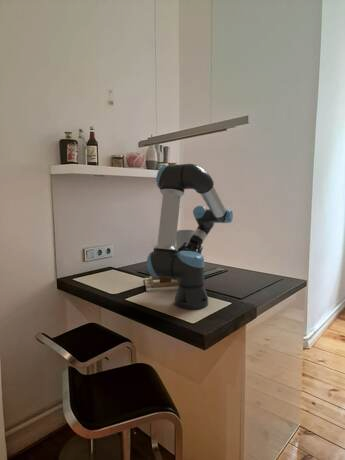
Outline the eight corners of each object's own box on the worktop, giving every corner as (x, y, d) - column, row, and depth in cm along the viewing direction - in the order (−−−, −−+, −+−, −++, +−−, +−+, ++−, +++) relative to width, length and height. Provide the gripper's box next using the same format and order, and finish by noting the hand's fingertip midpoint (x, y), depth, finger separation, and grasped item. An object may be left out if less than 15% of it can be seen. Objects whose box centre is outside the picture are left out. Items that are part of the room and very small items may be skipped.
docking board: (188, 289, 161) (188, 283, 161) (146, 291, 158) (146, 285, 158) (181, 277, 183) (181, 272, 182) (144, 279, 179) (144, 274, 179)
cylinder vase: (187, 265, 215) (187, 229, 212) (199, 268, 204) (198, 231, 201) (172, 267, 208) (172, 230, 205) (183, 271, 198) (183, 232, 195)
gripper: (216, 244, 177) (198, 275, 169) (186, 240, 195) (169, 267, 188) (210, 236, 173) (191, 267, 165) (180, 232, 191) (162, 260, 184)
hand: (179, 267), depth 176 cm, fingers open, 13 cm apart
